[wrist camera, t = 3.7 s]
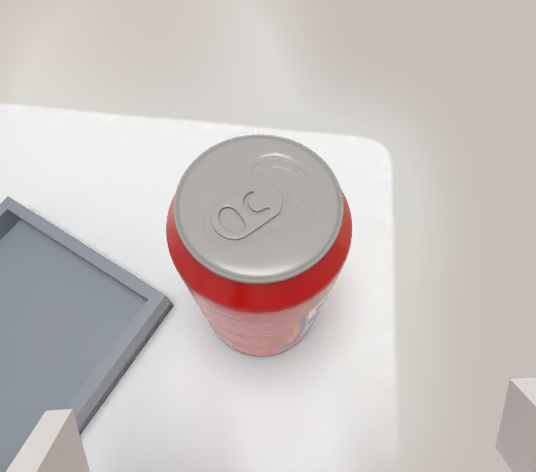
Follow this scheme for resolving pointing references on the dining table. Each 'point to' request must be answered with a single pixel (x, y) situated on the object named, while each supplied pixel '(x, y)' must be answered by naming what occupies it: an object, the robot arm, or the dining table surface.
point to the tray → (62, 325)
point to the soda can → (259, 239)
